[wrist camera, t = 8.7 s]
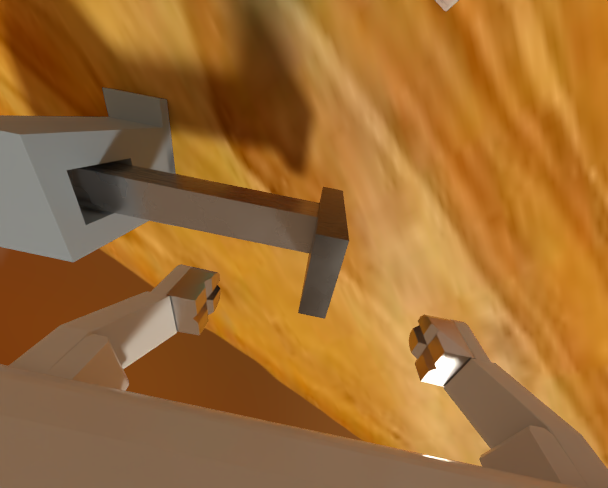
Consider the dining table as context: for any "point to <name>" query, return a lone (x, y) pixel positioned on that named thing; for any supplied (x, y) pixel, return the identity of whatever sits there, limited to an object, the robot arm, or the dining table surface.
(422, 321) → the robot arm
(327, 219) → the shaft
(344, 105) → the dining table surface
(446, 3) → the syrup box
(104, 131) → the bearing block
